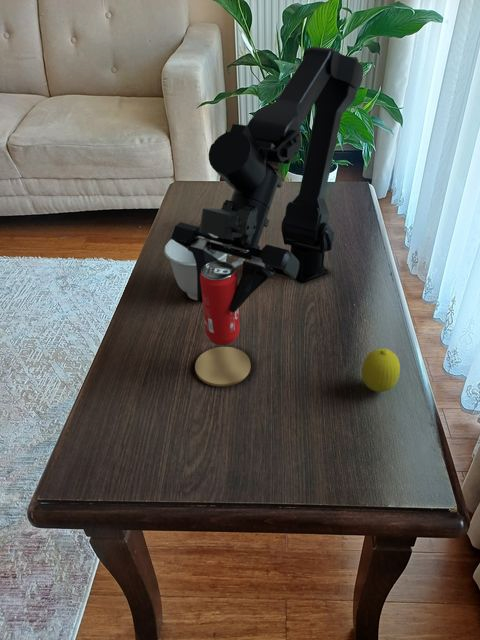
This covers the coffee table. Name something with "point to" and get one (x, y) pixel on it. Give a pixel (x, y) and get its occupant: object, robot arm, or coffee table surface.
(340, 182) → the coffee table surface
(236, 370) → the trivet
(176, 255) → the teacup
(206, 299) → the beverage can
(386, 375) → the lemon
